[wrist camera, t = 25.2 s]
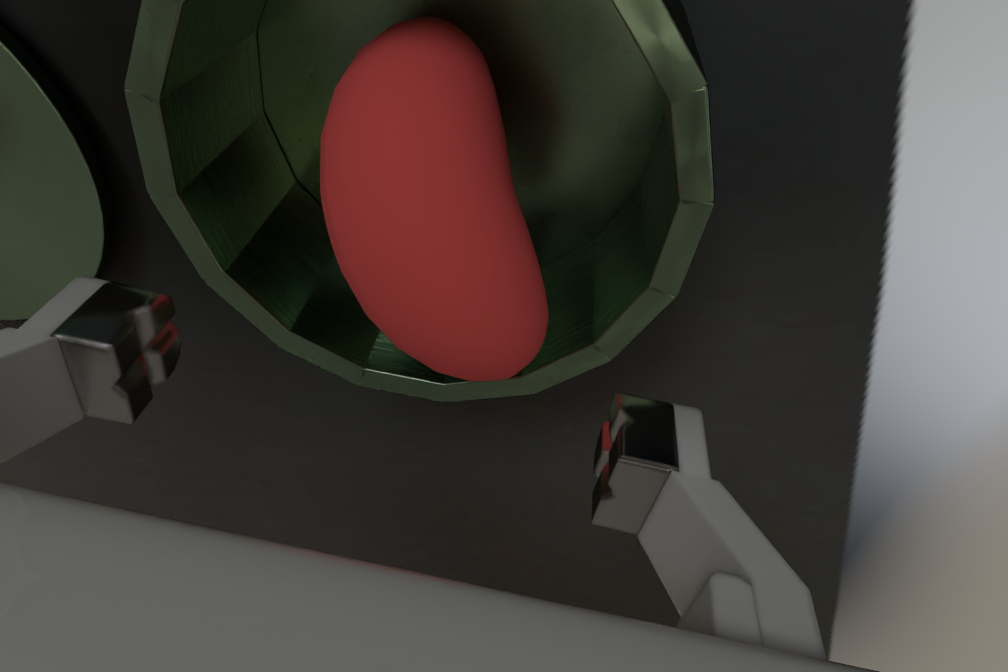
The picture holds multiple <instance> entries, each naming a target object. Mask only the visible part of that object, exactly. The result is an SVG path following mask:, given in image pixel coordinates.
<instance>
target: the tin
mask: <svg viewBox="0 0 1008 672" xmlns="http://www.w3.org/2000/svg"><path fill="white" fill-rule="evenodd" d="M420 17H436V18H440V19H443V20H446V21H448V22H450V23H452V24H453V25H455V26H457V27H458V28H460V29H461V30H462V31H463V32H464V33H466V34H467V35H468V36H469V37H470V38H471V39H472V40H473V41H474V43H475V44H476V45H477V47H478V48H479V49H480V51H481V53H482V54H483V56H484V58H485V60H486V62H487V65H488V68H489V71H490V74H491V77H492V80H493V83H494V86H495V91H496V95H497V99H498V103H499V108H500V112H501V117H502V122H503V126H504V131H505V137H506V143H507V148H508V154H509V161H510V168H511V174H512V180H513V185H514V189H515V193H516V196H517V200H518V203H519V205H520V208H521V211H522V214H523V216H524V219H525V222H526V225H527V227H528V230H529V233H530V236H531V240H532V243H533V246H534V249H535V252H536V256H537V259H538V263H539V267H540V271H541V275H542V279H543V283H544V287H545V292H546V299H547V305H548V323H547V329H546V335H545V339H544V341H543V344H542V346H541V348H540V350H539V352H538V353H537V355H536V356H535V357H534V359H533V360H532V361H531V362H530V363H529V364H528V365H527V366H525V367H524V368H523V369H522V370H520V371H519V372H518V373H517V374H515V375H514V376H512V377H510V378H507V379H504V380H492V381H475V382H473V381H468V380H464V379H461V378H457V377H453V376H450V375H446V374H442V373H439V372H436V371H434V370H432V369H431V368H429V367H427V366H426V365H424V364H423V363H421V362H419V361H418V360H416V359H414V358H413V357H411V356H410V355H408V354H406V353H405V352H403V351H401V350H400V349H398V348H397V347H396V346H395V345H394V344H393V343H392V341H391V340H390V339H389V338H388V337H387V336H386V335H385V334H384V333H383V332H382V331H381V330H380V329H379V328H378V327H377V326H376V325H375V324H374V323H373V322H372V321H371V320H370V318H369V317H368V316H367V315H366V314H365V312H364V310H363V309H362V307H361V305H360V303H359V302H358V300H357V298H356V296H355V294H354V293H353V291H352V289H351V287H350V286H349V284H348V282H347V280H346V279H345V277H344V275H343V273H342V272H341V269H340V267H339V264H338V262H337V259H336V256H335V253H334V250H333V247H332V244H331V241H330V237H329V234H328V230H327V226H326V222H325V217H324V213H323V207H322V201H321V194H320V145H321V133H322V130H323V127H324V123H325V120H326V116H327V113H328V109H329V106H330V102H331V99H332V96H333V92H334V89H335V87H336V86H337V84H338V82H339V81H340V79H341V78H342V76H343V75H344V73H345V72H346V70H347V69H348V67H349V66H350V64H351V63H352V61H353V60H354V58H355V56H356V55H357V53H358V52H359V50H360V49H361V48H362V47H364V46H365V45H366V44H367V43H368V42H370V41H371V40H373V39H374V38H375V37H377V36H378V35H379V34H381V33H382V32H383V31H385V30H386V29H387V28H389V27H390V26H391V25H394V24H396V23H398V22H402V21H407V20H411V19H416V18H420ZM124 87H125V89H124V93H125V97H126V101H127V106H128V110H129V115H130V119H131V123H132V128H133V132H134V136H135V141H136V145H137V150H138V154H139V158H140V163H141V167H142V172H143V176H144V180H145V185H146V189H147V193H148V194H150V198H151V200H152V201H153V203H154V204H155V206H156V207H157V209H158V211H159V212H160V214H161V215H162V217H163V219H164V220H165V222H166V223H167V225H168V226H169V228H170V230H171V231H172V233H173V234H174V236H175V238H176V239H177V241H178V242H179V244H180V245H181V247H182V249H183V250H184V252H185V253H186V255H187V257H188V258H189V260H190V261H191V263H192V265H193V266H194V268H195V269H196V271H197V272H198V274H199V276H200V277H201V279H202V280H205V283H206V284H207V285H208V286H209V287H210V288H211V289H213V290H214V291H215V292H216V293H217V294H218V295H219V296H221V297H222V298H223V299H224V300H225V301H226V302H227V303H229V304H230V305H231V306H232V307H233V308H234V309H235V310H237V311H238V312H239V313H240V314H241V315H242V316H243V317H245V318H246V319H247V320H248V321H249V322H250V323H251V324H253V325H254V326H255V327H256V328H257V329H258V330H259V331H261V332H262V333H263V334H264V335H265V336H266V337H267V338H269V339H270V340H271V341H272V342H273V343H274V344H277V346H278V347H280V348H282V349H284V350H286V351H288V352H290V353H292V354H294V355H296V356H298V357H300V358H302V359H304V360H306V361H308V362H310V363H312V364H314V365H316V366H318V367H320V368H322V369H325V370H327V371H329V372H331V373H333V374H335V375H337V376H339V377H341V378H343V379H345V380H347V381H349V382H351V383H353V384H355V385H357V386H359V385H360V386H362V387H367V388H373V389H378V390H383V391H388V392H393V393H398V394H404V395H409V396H414V397H419V398H424V399H429V400H435V401H440V402H445V401H447V402H458V401H469V400H480V399H491V398H502V397H513V396H524V395H530V394H536V393H538V392H541V391H543V390H545V389H548V388H550V387H552V386H555V385H557V384H559V383H562V382H564V381H566V380H568V379H571V378H573V377H575V376H578V375H580V374H582V373H585V372H587V371H589V370H592V369H594V368H596V367H599V366H601V365H603V364H606V363H608V362H610V361H611V360H612V359H614V358H615V357H616V356H617V355H618V354H619V353H620V352H621V351H622V350H623V349H624V348H625V347H626V346H627V345H628V344H629V343H630V342H631V341H632V340H633V339H634V338H635V337H636V336H637V335H638V334H639V333H640V332H641V331H642V330H644V329H645V328H646V327H647V326H648V325H649V324H650V323H651V322H652V321H653V320H654V319H655V318H656V317H657V316H658V315H659V314H660V313H661V312H662V311H663V310H664V309H665V308H666V307H667V306H668V305H669V304H670V303H671V302H672V301H673V300H674V299H675V298H676V296H678V294H679V292H680V289H681V287H682V284H683V282H684V279H685V277H686V274H687V272H688V269H689V267H690V264H691V262H692V259H693V257H694V254H695V252H696V249H697V247H698V244H699V242H700V239H701V237H702V234H703V232H704V229H705V227H706V224H707V222H708V219H709V217H710V214H711V212H712V209H713V207H714V199H715V191H714V174H713V157H712V140H711V123H710V106H709V88H708V84H707V80H706V76H705V73H704V70H703V67H702V63H701V60H700V57H699V54H698V51H697V47H696V44H695V41H694V38H693V35H692V31H691V28H690V25H689V22H688V19H687V15H686V12H685V9H684V8H683V6H682V4H681V2H680V0H141V5H140V10H139V15H138V20H137V25H136V30H135V35H134V40H133V45H132V50H131V55H130V60H129V65H128V70H127V75H126V80H125V85H124Z"/></svg>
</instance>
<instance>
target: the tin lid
mask: <svg viewBox="0 0 1008 672" xmlns="http://www.w3.org/2000/svg"><path fill="white" fill-rule="evenodd" d="M111 236H112V218H111V206H110V201H109V197H108V192H107V187H106V183H105V180H104V177H103V174H102V172H101V169H100V166H99V163H98V160H97V158H96V156H95V153H94V151H93V149H92V147H91V145H90V143H89V141H88V139H87V136H86V134H85V132H84V131H83V129H82V127H81V126H80V124H79V122H78V121H77V119H76V117H75V115H74V114H73V112H72V110H71V109H70V107H69V105H68V104H67V102H66V101H65V100H64V98H63V97H62V95H61V94H60V93H59V91H58V90H57V89H56V87H55V86H54V84H53V83H52V82H51V80H50V79H49V77H48V76H47V75H46V74H45V72H44V71H43V70H42V69H41V68H40V67H39V65H38V64H37V63H36V62H35V61H34V59H33V58H32V57H31V56H30V55H29V54H28V52H27V51H26V50H25V49H24V48H23V47H22V45H21V44H20V43H19V42H18V41H17V40H16V39H15V38H14V37H13V36H12V35H11V34H10V33H9V32H8V31H7V30H6V29H5V28H4V27H3V26H2V25H1V24H0V320H20V319H29V318H31V317H32V316H33V315H34V314H35V313H36V312H37V311H39V310H40V309H41V308H42V307H43V306H44V305H45V304H47V303H48V302H49V301H50V300H51V299H52V298H53V297H54V296H56V295H57V294H58V293H59V292H60V291H61V290H62V289H64V288H65V287H66V286H67V285H68V284H69V283H70V282H72V281H73V280H74V279H75V278H77V277H81V276H85V275H86V276H90V277H94V278H98V276H99V275H100V273H101V271H102V269H103V268H104V266H105V263H106V260H107V257H108V254H109V251H110V244H111Z"/></svg>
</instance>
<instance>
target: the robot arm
mask: <svg viewBox="0 0 1008 672" xmlns="http://www.w3.org/2000/svg"><path fill="white" fill-rule="evenodd" d="M174 314H175V309H174V305H173V301H172V298H171V297H169V296H167V295H166V294H162V293H158V292H154V291H150V290H146V289H142V288H138V287H133V286H129V285H125V284H121V283H117V282H110V281H106V280H102V279H98V278H94V277H90V276H86V275H85V276H81V277H77V278H75V279H74V280H73V281H72V282H70V283H69V284H68V285H67V286H66V287H65V288H64V289H62V290H61V291H60V292H59V293H58V294H57V295H56V296H54V297H53V298H52V299H51V300H50V301H49V302H48V303H47V304H45V305H44V306H43V307H42V308H41V309H40V310H39V311H37V312H36V313H35V314H34V315H33V316H32V317H31V318H29V319H28V320H27V321H26V322H25V323H24V324H23V325H22V326H20V327H19V328H18V329H14V328H9V327H8V328H5V329H2V330H0V464H2V463H4V462H6V461H8V460H9V459H11V458H13V457H15V456H17V455H18V454H20V453H22V452H24V451H26V450H27V449H29V448H31V447H33V446H35V445H36V444H38V443H40V442H42V441H43V440H45V439H47V438H49V437H51V436H52V435H54V434H56V433H58V432H60V431H61V430H63V429H65V428H67V427H69V426H70V425H72V424H74V423H76V422H78V421H79V420H81V419H83V418H84V415H86V416H91V417H96V418H102V419H107V420H112V421H118V422H123V423H128V424H133V423H134V421H135V420H136V419H137V417H138V416H139V415H140V414H141V412H142V411H143V410H144V408H145V407H146V406H147V405H148V403H149V402H150V401H151V400H152V398H153V396H152V390H151V387H153V386H155V385H157V384H160V383H162V382H164V381H166V380H167V379H168V377H169V376H170V375H171V373H172V372H173V371H174V369H175V367H176V364H177V361H178V358H179V356H180V347H181V340H180V335H179V331H178V330H177V329H176V328H175V327H174V326H173V324H172V323H171V322H170V321H169V320H170V319H171V317H172V316H173V315H174ZM593 473H594V475H595V476H596V478H597V479H598V481H597V483H596V486H595V488H594V491H593V494H592V524H596V525H600V526H604V527H608V528H612V529H616V530H620V531H624V532H628V533H633V534H637V535H638V536H637V537H638V539H639V541H640V543H641V545H642V547H643V548H644V550H645V552H646V554H647V556H648V558H649V559H650V561H651V563H652V565H653V567H654V569H655V570H656V572H657V574H658V576H659V578H660V580H661V581H662V583H663V585H664V587H665V589H666V591H667V592H668V594H669V596H670V598H671V600H672V602H673V603H674V605H675V607H676V609H677V611H678V613H679V614H680V616H681V620H680V621H679V623H678V624H677V625H676V627H670V626H665V625H661V624H656V623H651V622H647V621H642V620H638V619H633V618H628V617H624V616H619V615H614V614H610V613H605V612H601V611H596V610H591V609H587V608H582V607H577V606H573V605H568V604H563V603H559V602H554V601H550V600H545V599H540V598H536V597H531V596H526V595H522V594H517V593H513V592H508V591H503V590H499V589H494V588H489V587H485V586H480V585H475V584H471V583H466V582H461V581H457V580H452V579H447V578H443V577H438V576H433V575H429V574H424V573H419V572H415V571H410V570H405V569H401V568H396V567H391V566H387V565H382V564H378V563H373V562H368V561H364V560H359V559H354V558H350V557H345V556H340V555H336V554H331V553H326V552H322V551H317V550H313V549H308V548H303V547H299V546H294V545H289V544H285V543H280V542H276V541H271V540H266V539H262V538H257V537H252V536H248V535H243V534H239V533H234V532H229V531H225V530H220V529H215V528H211V527H206V526H202V525H197V524H192V523H188V522H183V521H178V520H174V519H169V518H165V517H160V516H155V515H151V514H146V513H141V512H137V511H132V510H127V509H123V508H118V507H113V506H109V505H104V504H100V503H95V502H90V501H86V500H81V499H76V498H72V497H67V496H62V495H58V494H53V493H49V492H44V491H39V490H35V489H30V488H25V487H21V486H16V485H11V484H7V483H2V482H0V672H878V671H874V670H869V669H864V668H859V667H855V666H850V665H846V664H841V663H837V662H832V661H827V660H826V657H825V652H824V648H823V644H822V640H821V636H820V632H819V627H818V623H817V619H816V615H815V611H814V607H813V602H812V598H811V594H810V590H809V589H808V588H807V586H806V585H805V584H804V583H803V582H802V580H801V579H800V578H799V577H798V576H797V574H796V573H795V572H794V571H793V570H792V568H791V567H790V566H789V565H788V563H787V562H786V561H785V560H784V559H783V557H782V556H781V555H780V554H779V553H778V551H777V550H776V549H775V548H774V547H773V545H772V544H771V543H770V542H769V540H768V539H767V538H766V537H765V536H764V534H763V533H762V532H761V531H760V530H759V528H758V527H757V526H756V525H755V524H754V522H753V521H752V520H751V519H750V517H749V516H748V515H747V514H746V513H745V511H744V510H743V509H742V508H741V507H740V505H739V504H738V503H737V502H736V501H735V499H734V498H733V497H732V496H731V494H730V493H729V492H728V491H727V490H726V488H725V487H724V486H723V485H722V484H721V482H720V481H716V480H712V479H711V472H710V465H709V458H708V451H707V444H706V437H705V430H704V423H703V416H702V412H701V411H700V409H699V408H694V407H689V406H684V405H679V404H674V403H671V404H670V403H667V402H663V401H658V400H653V399H648V398H644V397H639V396H634V395H629V394H624V393H620V392H617V393H616V394H615V396H614V397H613V400H612V402H611V405H610V414H609V421H607V422H605V423H603V425H602V428H601V431H600V434H599V437H598V441H597V445H596V449H595V457H594V469H593Z"/></svg>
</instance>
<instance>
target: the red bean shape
mask: <svg viewBox="0 0 1008 672" xmlns="http://www.w3.org/2000/svg"><path fill="white" fill-rule="evenodd" d="M320 194H321V201H322V207H323V213H324V217H325V222H326V226H327V230H328V234H329V237H330V241H331V244H332V247H333V250H334V253H335V256H336V259H337V262H338V264H339V267H340V269H341V272H342V273H343V275H344V277H345V279H346V280H347V282H348V284H349V286H350V287H351V289H352V291H353V293H354V294H355V296H356V298H357V300H358V302H359V303H360V305H361V307H362V309H363V310H364V312H365V314H366V315H367V316H368V317H369V318H370V320H371V321H372V322H373V323H374V324H375V325H376V326H377V327H378V328H379V329H380V330H381V331H382V332H383V333H384V334H385V335H386V336H387V337H388V338H389V339H390V340H391V341H392V343H393V344H394V345H395V346H396V347H397V348H398V349H400V350H401V351H403V352H405V353H406V354H408V355H410V356H411V357H413V358H414V359H416V360H418V361H419V362H421V363H423V364H424V365H426V366H427V367H429V368H431V369H432V370H434V371H436V372H439V373H442V374H446V375H450V376H453V377H457V378H461V379H464V380H468V381H473V382H475V381H492V380H504V379H507V378H510V377H512V376H514V375H515V374H517V373H518V372H519V371H520V370H522V369H523V368H524V367H525V366H527V365H528V364H529V363H530V362H531V361H532V360H533V359H534V357H535V356H536V355H537V353H538V352H539V350H540V348H541V346H542V344H543V341H544V339H545V335H546V329H547V323H548V305H547V299H546V292H545V287H544V283H543V279H542V275H541V271H540V267H539V263H538V259H537V256H536V252H535V249H534V246H533V243H532V240H531V236H530V233H529V230H528V227H527V225H526V222H525V219H524V216H523V214H522V211H521V208H520V205H519V203H518V200H517V196H516V193H515V189H514V185H513V180H512V174H511V168H510V161H509V154H508V148H507V143H506V137H505V131H504V126H503V122H502V117H501V112H500V108H499V103H498V99H497V95H496V91H495V86H494V83H493V80H492V77H491V74H490V71H489V68H488V65H487V62H486V60H485V58H484V56H483V54H482V53H481V51H480V49H479V48H478V47H477V45H476V44H475V43H474V41H473V40H472V39H471V38H470V37H469V36H468V35H467V34H466V33H464V32H463V31H462V30H461V29H460V28H458V27H457V26H455V25H453V24H452V23H450V22H448V21H446V20H443V19H440V18H436V17H420V18H416V19H411V20H407V21H402V22H398V23H396V24H394V25H391V26H390V27H389V28H387V29H386V30H385V31H383V32H382V33H381V34H379V35H378V36H377V37H375V38H374V39H373V40H371V41H370V42H368V43H367V44H366V45H365V46H364V47H362V48H361V49H360V50H359V52H358V53H357V55H356V56H355V58H354V60H353V61H352V63H351V64H350V66H349V67H348V69H347V70H346V72H345V73H344V75H343V76H342V78H341V79H340V81H339V82H338V84H337V86H336V87H335V89H334V92H333V96H332V99H331V102H330V106H329V109H328V113H327V116H326V120H325V123H324V127H323V130H322V133H321V145H320Z"/></svg>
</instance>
